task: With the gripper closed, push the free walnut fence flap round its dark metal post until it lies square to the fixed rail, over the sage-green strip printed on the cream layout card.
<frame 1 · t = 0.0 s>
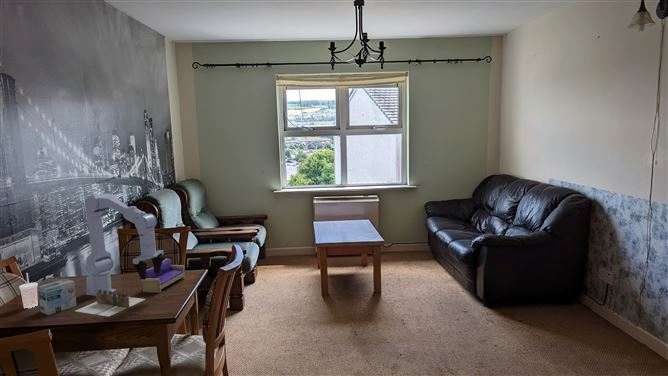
hand: (150, 276, 172), 10 cm above the table, fingers open, 7 cm apart
fixed fence rail: (115, 305, 167), resting on layout card
toy sofa: (165, 286, 191), on the table
light bulb box: (59, 310, 166), on the table
layout card: (111, 305, 168), on the table
beverage cup: (30, 306, 170), on the table
fence flap: (115, 305, 167), resting on layout card, hinge at 0.0°
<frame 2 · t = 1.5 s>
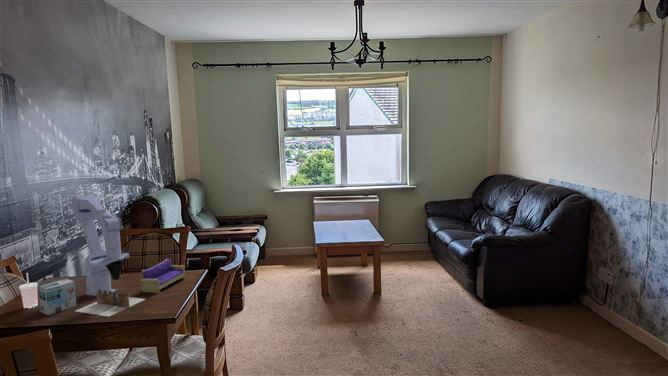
hand: (115, 279, 172), 9 cm above the table, fingers closed
nothing on the table moved.
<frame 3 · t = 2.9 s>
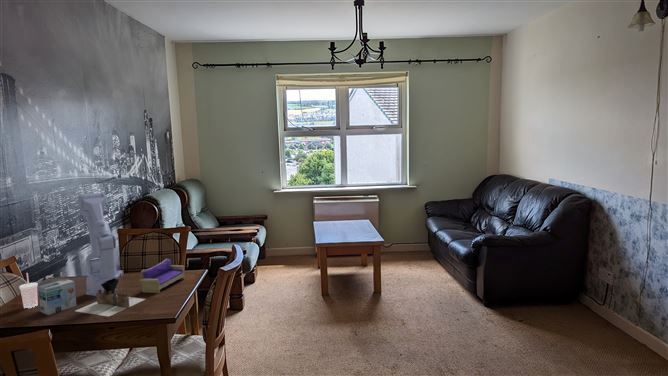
hand: (110, 297, 171), 2 cm above the table, fingers closed
fence flap: (115, 305, 167), resting on layout card, hinge at 0.0°, touching gripper
everything else where it was.
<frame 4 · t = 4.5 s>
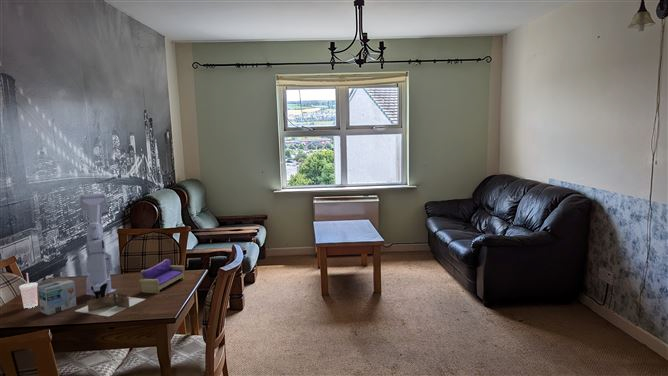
hand: (101, 302, 165), 2 cm above the table, fingers closed, pressing on fence flap
fence flap: (115, 305, 167), resting on layout card, hinge at 55.5°, touching gripper
everything else where it was.
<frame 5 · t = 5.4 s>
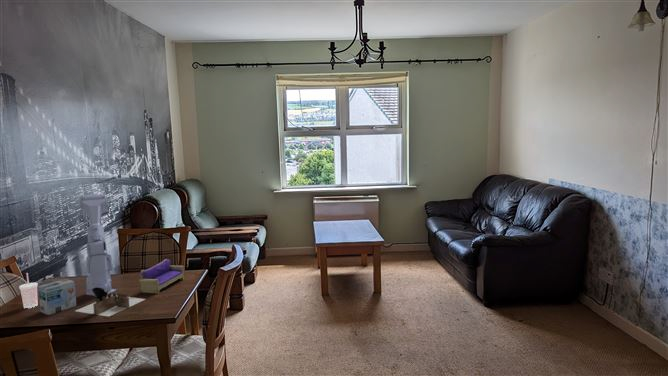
hand: (102, 305, 163), 2 cm above the table, fingers closed, pressing on fence flap
fence flap: (115, 305, 167), resting on layout card, hinge at 92.0°, touching gripper
everything else where it was.
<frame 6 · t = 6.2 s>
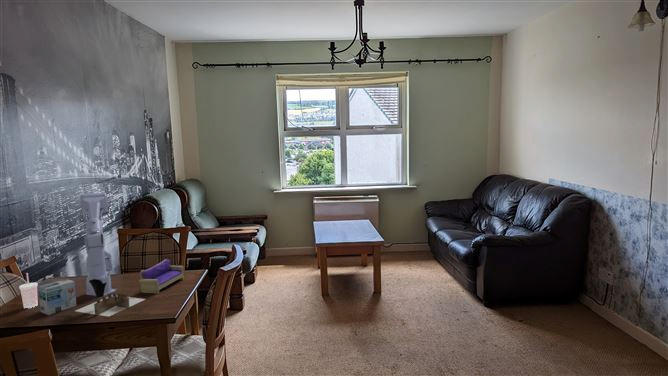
hand: (100, 296, 166), 5 cm above the table, fingers closed
fence flap: (115, 305, 167), resting on layout card, hinge at 94.3°
everything else where it was.
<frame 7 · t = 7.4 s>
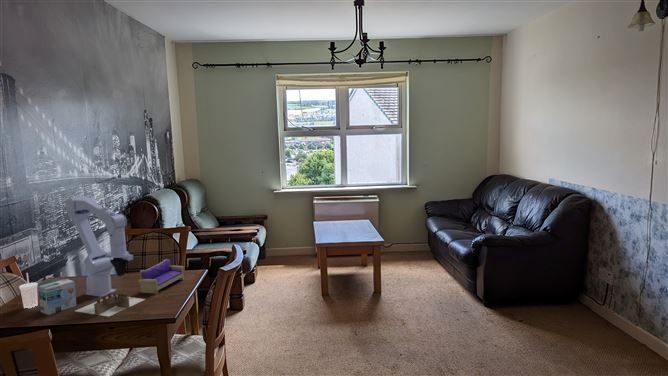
hand: (120, 275, 175), 10 cm above the table, fingers closed
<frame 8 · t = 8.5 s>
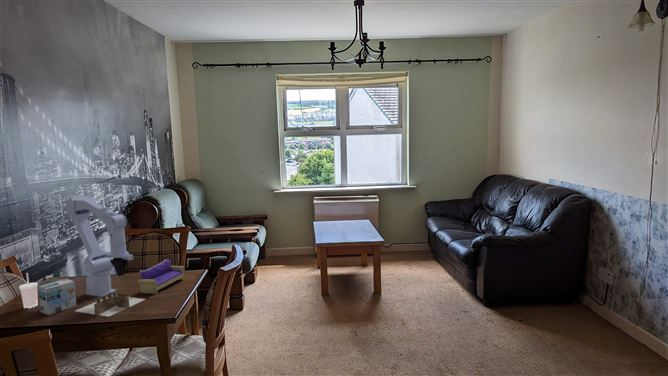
hand: (120, 275, 175), 10 cm above the table, fingers closed
at the end: fence flap at +94° (first picture: +0°) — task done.
